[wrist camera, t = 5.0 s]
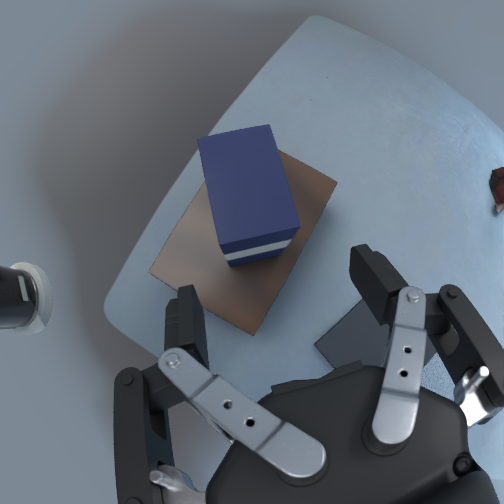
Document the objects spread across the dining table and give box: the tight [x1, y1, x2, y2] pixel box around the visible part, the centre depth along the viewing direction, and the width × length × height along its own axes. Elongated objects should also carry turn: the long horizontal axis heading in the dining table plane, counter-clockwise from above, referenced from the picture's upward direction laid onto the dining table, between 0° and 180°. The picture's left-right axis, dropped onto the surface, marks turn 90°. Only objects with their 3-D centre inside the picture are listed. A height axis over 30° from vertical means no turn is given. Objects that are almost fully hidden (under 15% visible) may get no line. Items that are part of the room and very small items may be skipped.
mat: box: [314, 298, 437, 369], centre depth 33 cm, size 14×14×1 cm
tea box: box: [197, 124, 301, 267], centre depth 23 cm, size 5×8×11 cm, turn 13°
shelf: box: [148, 150, 337, 336], centre depth 32 cm, size 18×12×7 cm, turn 150°
